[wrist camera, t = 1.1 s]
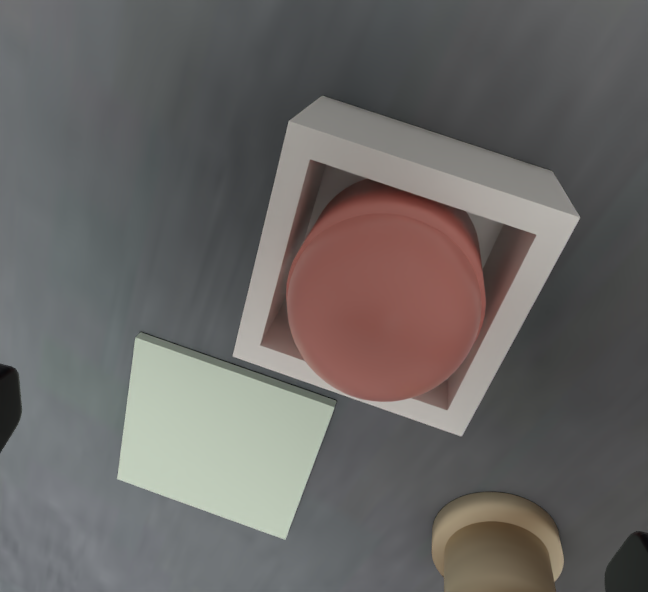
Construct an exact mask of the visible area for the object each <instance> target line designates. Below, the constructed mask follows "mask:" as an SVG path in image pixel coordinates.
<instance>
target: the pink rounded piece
mask: <svg viewBox="0 0 648 592" xmlns="http://www.w3.org/2000/svg"><path fill="white" fill-rule="evenodd" d="M286 300H287V313H288V321H289V326H290V330H291V334H292V337H293V339H294V342H295V344H296V346H297V348H298V350H299V352H300V354H301V356H302V357H303V359H304V360H305V362H306V363H307V364H308V366H309V367H310V368H311V369H312V370H313V371H314V372H315V373H316V374H317V375H318V376H319V377H320V378H321V379H323V380H324V381H325V382H326V383H328V384H329V385H331V386H332V387H333V388H335V389H337V390H339V391H341V392H343V393H345V394H348V395H350V396H353V397H356V398H359V399H363V400H369V401H378V402H393V401H400V400H405V399H409V398H413V397H416V396H419V395H421V394H424V393H426V392H428V391H430V390H432V389H434V388H435V387H437V386H438V385H440V384H441V383H442V382H444V381H445V380H446V379H448V378H449V377H450V376H451V375H452V374H453V373H454V372H455V371H456V370H457V369H458V368H459V366H460V365H461V364H462V363H463V361H464V360H465V358H466V357H467V355H468V353H469V352H470V350H471V348H472V346H473V344H474V343H475V341H476V339H477V338H478V335H479V333H480V330H481V328H482V325H483V321H484V317H485V307H486V298H485V287H484V279H483V271H482V263H481V255H480V247H479V241H478V236H477V233H476V230H475V227H474V225H473V223H472V221H471V219H470V217H469V215H468V214H467V212H466V211H464V210H461V209H458V208H455V207H452V206H449V205H446V204H443V203H440V202H437V201H434V200H431V199H428V198H425V197H422V196H419V195H416V194H413V193H410V192H407V191H404V190H401V189H398V188H395V187H392V186H389V185H386V184H383V183H380V182H377V181H374V180H371V179H368V178H367V179H364V180H361V181H359V182H357V183H354V184H352V185H351V186H349V187H347V188H345V189H344V190H342V191H341V192H340V193H339V194H337V195H336V196H335V197H334V198H333V199H332V200H331V201H330V202H329V203H328V204H327V206H326V207H325V208H324V210H323V211H322V213H321V214H320V216H319V218H318V219H317V221H316V223H315V224H314V226H313V228H312V229H311V231H310V233H309V234H308V236H307V238H306V239H305V241H304V243H303V244H302V246H301V248H300V249H299V251H298V253H297V255H296V257H295V258H294V260H293V262H292V265H291V268H290V271H289V274H288V279H287V286H286Z"/></svg>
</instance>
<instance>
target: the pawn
mask: <svg viewBox="0 0 648 592" xmlns="http://www.w3.org/2000/svg"><path fill="white" fill-rule="evenodd" d="M432 558H433V561H434V564H435V566H436V568H437V569H438V571H439V572H440V574H441V575H442V576H443V577H444V592H556V589H555V583H554V582H555V581H556V580H557V579H558V577H559V576H560V574H561V571H562V569H563V564H564V557H563V552H562V547H561V542H560V537H559V532H558V529H557V526H556V524H555V522H554V521H553V519H552V518H551V517H550V515H549V514H548V513H547V512H546V511H544V510H543V509H542V508H541V507H539V506H538V505H536V504H535V503H533V502H531V501H529V500H527V499H525V498H522V497H519V496H516V495H513V494H508V493H501V492H478V493H473V494H468V495H465V496H462V497H459V498H457V499H455V500H453V501H451V502H450V503H448V504H447V505H446V506H444V507H443V508H442V509H441V510H440V512H439V513H438V514H437V516H436V518H435V520H434V523H433V529H432Z"/></svg>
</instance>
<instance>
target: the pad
mask: <svg viewBox="0 0 648 592" xmlns="http://www.w3.org/2000/svg"><path fill="white" fill-rule="evenodd" d="M335 405H336V400H333V399H330V398H327V397H324V396H321V395H319V394H316V393H313V392H310V391H307V390H304V389H301V388H299V387H296V386H293V385H290V384H287V383H284V382H281V381H279V380H276V379H273V378H270V377H267V376H264V375H261V374H259V373H256V372H253V371H250V370H247V369H244V368H241V367H239V366H236V365H233V364H230V363H227V362H224V361H221V360H219V359H216V358H213V357H210V356H207V355H204V354H201V353H199V352H196V351H193V350H190V349H187V348H184V347H182V346H179V345H176V344H173V343H170V342H167V341H164V340H162V339H159V338H156V337H153V336H150V335H147V334H144V333H142V332H140V333H139V334H138V335H137V336H136V338H135V345H134V353H133V361H132V369H131V377H130V384H129V392H128V400H127V408H126V415H125V423H124V431H123V439H122V446H121V454H120V462H119V470H118V478H117V479H119V480H121V481H124V482H127V483H130V484H132V485H135V486H138V487H141V488H143V489H146V490H149V491H152V492H155V493H157V494H160V495H163V496H166V497H168V498H171V499H174V500H177V501H179V502H182V503H185V504H188V505H191V506H193V507H196V508H199V509H202V510H204V511H207V512H210V513H213V514H215V515H218V516H221V517H224V518H226V519H229V520H232V521H235V522H238V523H240V524H243V525H246V526H249V527H251V528H254V529H257V530H260V531H262V532H265V533H268V534H271V535H274V536H276V537H279V538H282V539H286V536H287V534H288V531H289V528H290V526H291V523H292V520H293V518H294V515H295V512H296V510H297V507H298V504H299V502H300V499H301V496H302V494H303V491H304V488H305V486H306V483H307V480H308V478H309V475H310V472H311V470H312V467H313V464H314V462H315V459H316V456H317V453H318V451H319V448H320V445H321V443H322V440H323V437H324V435H325V432H326V429H327V427H328V424H329V421H330V419H331V416H332V413H333V411H334V408H335Z"/></svg>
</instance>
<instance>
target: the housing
mask: <svg viewBox="0 0 648 592" xmlns="http://www.w3.org/2000/svg"><path fill="white" fill-rule="evenodd" d="M367 178H368V179H371V180H374V181H377V182H380V183H383V184H386V185H389V186H392V187H395V188H398V189H401V190H404V191H407V192H410V193H413V194H416V195H419V196H422V197H425V198H428V199H431V200H434V201H437V202H440V203H443V204H446V205H449V206H452V207H455V208H458V209H461V210H464V211H466V212H467V214H468V215H469V217H470V219H471V221H472V223H473V225H474V227H475V230H476V233H477V236H478V241H479V247H480V255H481V263H482V271H483V279H484V287H485V298H486V307H485V317H484V321H483V325H482V328H481V330H480V333H479V335H478V338H477V339H476V341H475V343H474V344H473V346H472V348H471V350H470V352H469V353H468V355H467V357H466V358H465V360H464V361H463V363H462V364H461V365H460V366H459V368H458V369H457V370H456V371H455V372H454V373H453V374H452V375H451V376H450V377H449V378H448V379H446V380H445V381H444V382H442V383H441V384H440V385H438V386H437V387H435V388H434V389H432V390H430V391H428V392H426V393H424V394H421V395H419V396H416V397H413V398H409V399H405V400H400V401H393V402H378V401H369V400H363V399H359V398H356V397H353V396H350V395H348V394H345V393H343V392H341V391H339V390H337V389H335V388H333V387H332V386H331V385H329V384H328V383H326V382H325V381H324V380H323V379H321V378H320V377H319V376H318V375H317V374H316V373H315V372H314V371H313V370H312V369H311V368H310V367H309V366H308V364H307V363H306V362H305V360H304V359H303V357H302V356H301V354H300V352H299V350H298V348H297V346H296V344H295V342H294V339H293V337H292V334H291V330H290V326H289V321H288V313H287V300H286V286H287V279H288V274H289V271H290V268H291V265H292V262H293V260H294V258H295V257H296V255H297V253H298V251H299V249H300V248H301V246H302V244H303V243H304V241H305V239H306V238H307V236H308V234H309V233H310V231H311V229H312V228H313V226H314V224H315V223H316V221H317V219H318V218H319V216H320V214H321V213H322V211H323V210H324V208H325V207H326V206H327V204H328V203H329V202H330V201H331V200H332V199H333V198H334V197H335V196H336V195H337V194H339V193H340V192H341V191H342V190H344V189H345V188H347V187H349V186H351V185H352V184H354V183H357V182H359V181H361V180H364V179H367ZM579 219H580V216H579V215H578V213H577V211H576V210H575V208H574V206H573V205H572V203H571V201H570V200H569V198H568V196H567V195H566V193H565V191H564V190H563V188H562V186H561V185H560V183H559V181H558V180H557V178H556V176H555V175H554V173H553V171H550V170H547V169H544V168H541V167H538V166H535V165H532V164H529V163H526V162H523V161H520V160H517V159H514V158H511V157H508V156H505V155H502V154H499V153H496V152H493V151H490V150H487V149H484V148H480V147H477V146H474V145H471V144H468V143H465V142H462V141H459V140H456V139H453V138H450V137H447V136H444V135H441V134H438V133H435V132H432V131H429V130H426V129H423V128H420V127H417V126H414V125H411V124H407V123H404V122H401V121H398V120H395V119H392V118H389V117H386V116H383V115H380V114H377V113H374V112H371V111H368V110H365V109H362V108H359V107H356V106H353V105H350V104H347V103H344V102H341V101H338V100H334V99H331V98H328V97H325V96H321V97H320V98H318V99H317V100H316V101H314V102H313V103H312V104H310V105H309V106H308V107H306V108H305V109H304V110H303V111H301V112H300V113H299V114H297V115H296V116H295V117H293V118H292V119H291V120H289V122H288V126H287V131H286V135H285V139H284V143H283V147H282V152H281V156H280V160H279V164H278V168H277V172H276V177H275V181H274V185H273V189H272V193H271V198H270V202H269V206H268V210H267V214H266V219H265V223H264V227H263V231H262V235H261V239H260V244H259V248H258V252H257V256H256V260H255V265H254V269H253V273H252V277H251V281H250V285H249V290H248V294H247V298H246V302H245V306H244V311H243V315H242V319H241V323H240V327H239V331H238V336H237V340H236V344H235V348H234V352H233V357H235V358H238V359H241V360H244V361H247V362H250V363H253V364H255V365H258V366H261V367H264V368H267V369H270V370H273V371H275V372H278V373H281V374H284V375H287V376H290V377H293V378H295V379H298V380H301V381H304V382H307V383H310V384H313V385H316V386H318V387H321V388H324V389H327V390H330V391H333V392H336V393H338V394H341V395H344V396H347V397H350V398H353V399H356V400H358V401H361V402H364V403H367V404H370V405H373V406H376V407H378V408H381V409H384V410H387V411H390V412H393V413H396V414H398V415H401V416H404V417H407V418H410V419H413V420H416V421H418V422H421V423H424V424H427V425H430V426H433V427H436V428H439V429H441V430H444V431H447V432H450V433H453V434H456V435H459V436H461V437H462V435H463V433H464V431H465V430H466V428H467V426H468V424H469V422H470V420H471V418H472V417H473V415H474V413H475V411H476V409H477V407H478V406H479V404H480V402H481V400H482V398H483V396H484V394H485V393H486V391H487V389H488V387H489V385H490V383H491V382H492V380H493V378H494V376H495V374H496V372H497V370H498V369H499V367H500V365H501V363H502V361H503V359H504V358H505V356H506V354H507V352H508V350H509V348H510V346H511V345H512V343H513V341H514V339H515V337H516V335H517V334H518V332H519V330H520V328H521V326H522V324H523V322H524V321H525V319H526V317H527V315H528V313H529V311H530V310H531V308H532V306H533V304H534V302H535V300H536V298H537V297H538V295H539V293H540V291H541V289H542V287H543V285H544V284H545V282H546V280H547V278H548V276H549V274H550V273H551V271H552V269H553V267H554V265H555V263H556V261H557V260H558V258H559V256H560V254H561V252H562V250H563V249H564V247H565V245H566V243H567V241H568V239H569V237H570V236H571V234H572V232H573V230H574V228H575V226H576V225H577V223H578V221H579Z"/></svg>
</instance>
